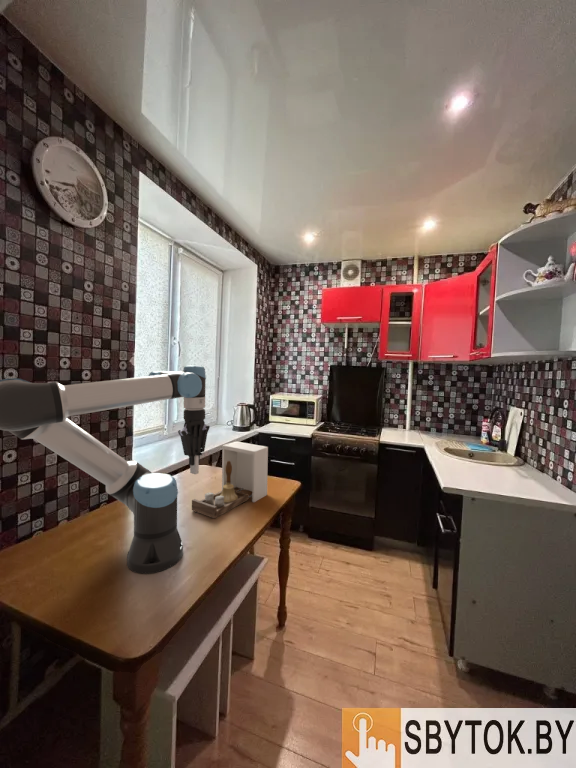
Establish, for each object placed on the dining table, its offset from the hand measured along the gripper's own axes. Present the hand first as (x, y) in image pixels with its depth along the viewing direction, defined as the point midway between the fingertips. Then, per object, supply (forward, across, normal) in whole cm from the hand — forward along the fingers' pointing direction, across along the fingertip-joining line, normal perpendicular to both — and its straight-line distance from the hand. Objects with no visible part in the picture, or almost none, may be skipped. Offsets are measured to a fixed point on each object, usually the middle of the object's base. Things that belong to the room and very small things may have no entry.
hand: (194, 473), depth 114 cm
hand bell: (+16, +18, 0) cm, 25 cm away
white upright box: (+18, +19, 0) cm, 26 cm away
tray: (+18, +14, 0) cm, 23 cm away
